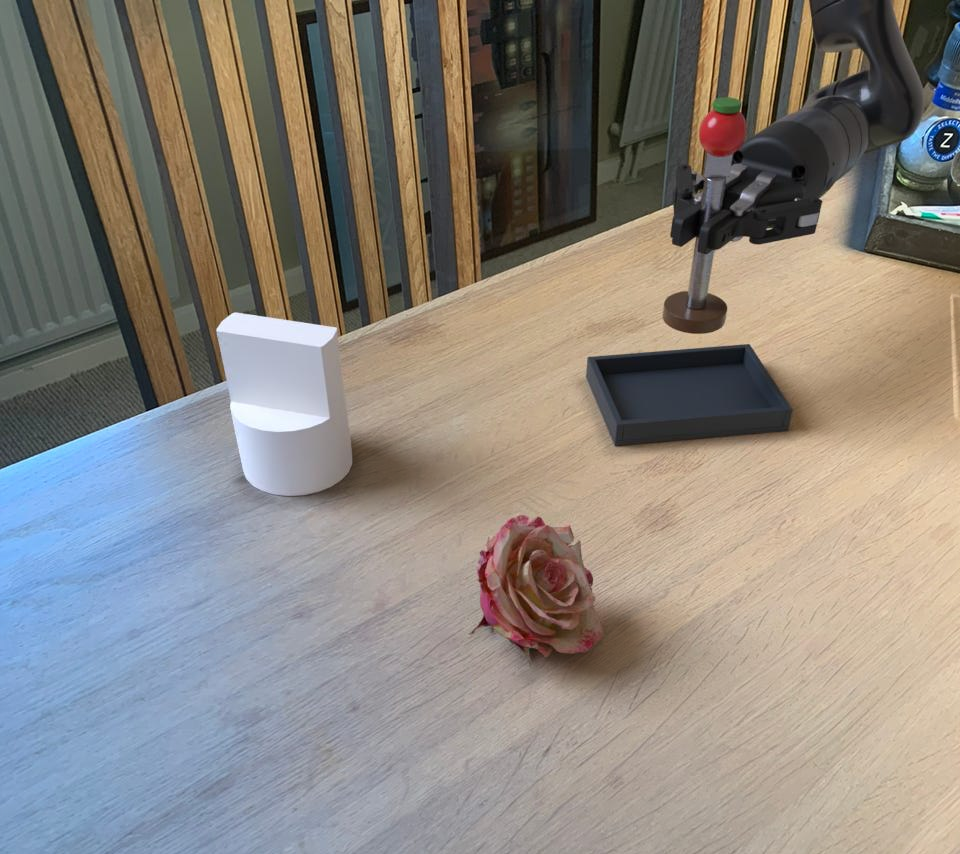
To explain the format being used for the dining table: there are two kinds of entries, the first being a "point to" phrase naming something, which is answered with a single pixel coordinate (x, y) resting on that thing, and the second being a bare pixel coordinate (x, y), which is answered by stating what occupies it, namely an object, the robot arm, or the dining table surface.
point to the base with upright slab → (286, 403)
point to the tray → (686, 394)
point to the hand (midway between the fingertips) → (690, 237)
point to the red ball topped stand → (720, 141)
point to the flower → (537, 588)
